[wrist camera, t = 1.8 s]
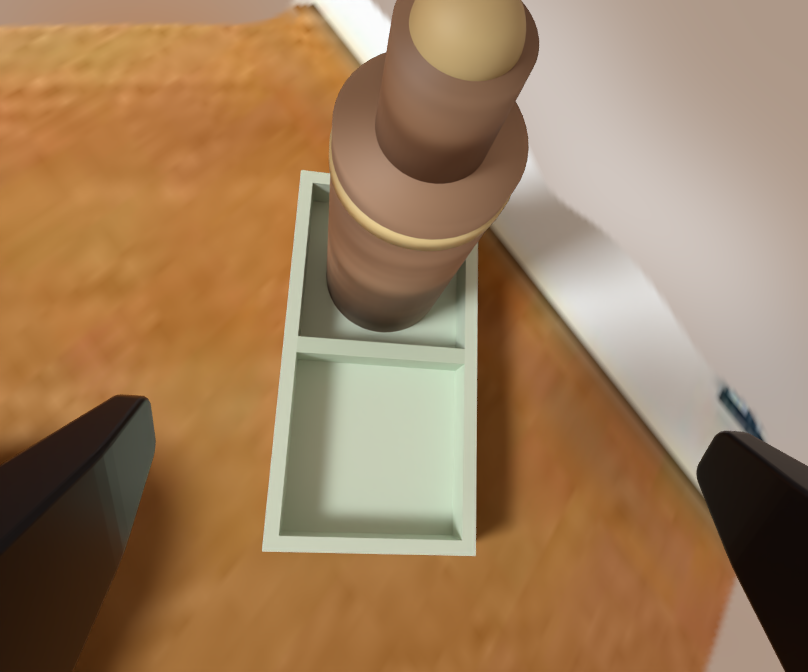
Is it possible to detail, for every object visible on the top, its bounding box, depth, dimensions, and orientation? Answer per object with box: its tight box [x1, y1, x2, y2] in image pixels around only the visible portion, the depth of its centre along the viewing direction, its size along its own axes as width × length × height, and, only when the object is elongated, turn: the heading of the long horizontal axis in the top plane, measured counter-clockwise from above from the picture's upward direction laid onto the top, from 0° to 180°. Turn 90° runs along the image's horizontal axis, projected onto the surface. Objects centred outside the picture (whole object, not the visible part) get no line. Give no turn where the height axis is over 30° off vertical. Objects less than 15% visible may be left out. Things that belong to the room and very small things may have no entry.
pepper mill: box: [326, 0, 539, 332], centre depth 15 cm, size 5×5×14 cm
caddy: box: [262, 170, 478, 556], centre depth 21 cm, size 14×7×2 cm, turn 177°
